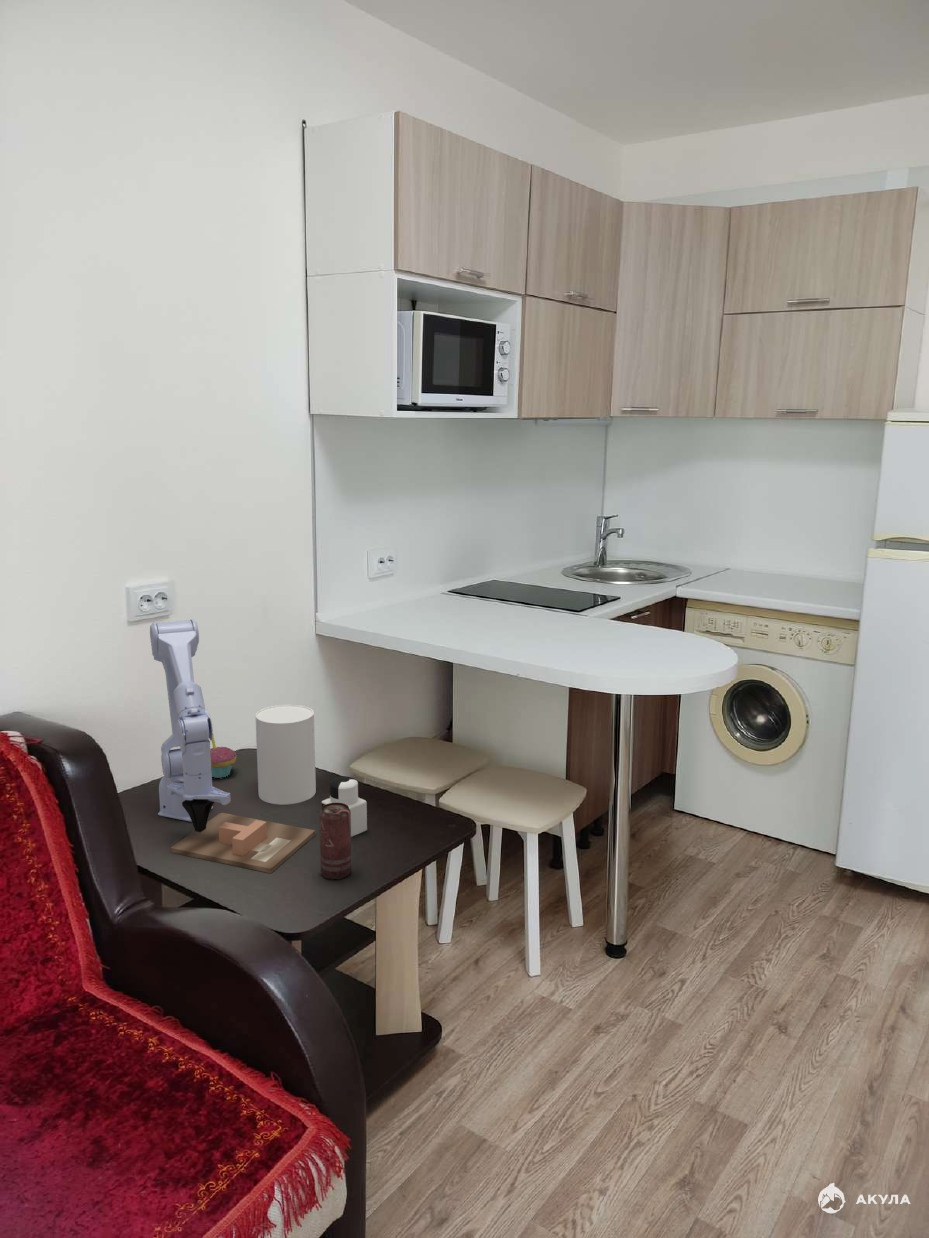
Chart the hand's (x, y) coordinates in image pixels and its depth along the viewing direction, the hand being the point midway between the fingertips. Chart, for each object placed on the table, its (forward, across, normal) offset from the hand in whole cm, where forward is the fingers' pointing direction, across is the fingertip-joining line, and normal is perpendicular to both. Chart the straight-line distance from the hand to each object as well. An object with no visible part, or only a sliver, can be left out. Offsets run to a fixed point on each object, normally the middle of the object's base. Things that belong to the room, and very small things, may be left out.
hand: (200, 829), depth 193 cm
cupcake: (+2, -16, +31) cm, 35 cm away
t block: (+1, +9, 0) cm, 9 cm away
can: (+3, +34, -2) cm, 34 cm away
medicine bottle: (+2, +26, +15) cm, 31 cm away
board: (+2, +9, +2) cm, 10 cm away
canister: (+2, +4, +28) cm, 28 cm away
